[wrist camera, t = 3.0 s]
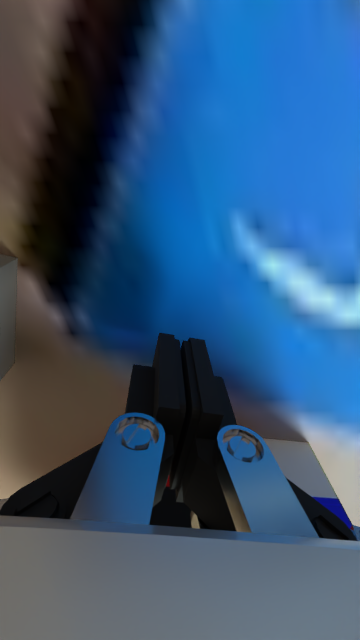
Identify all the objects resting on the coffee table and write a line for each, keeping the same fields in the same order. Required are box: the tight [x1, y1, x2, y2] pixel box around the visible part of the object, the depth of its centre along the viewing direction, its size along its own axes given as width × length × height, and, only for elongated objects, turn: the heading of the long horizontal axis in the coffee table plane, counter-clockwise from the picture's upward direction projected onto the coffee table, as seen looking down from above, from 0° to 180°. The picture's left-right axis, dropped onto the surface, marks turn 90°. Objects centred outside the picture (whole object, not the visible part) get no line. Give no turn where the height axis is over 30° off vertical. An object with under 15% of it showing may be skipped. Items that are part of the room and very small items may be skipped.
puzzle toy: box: [149, 438, 352, 529], centre depth 14 cm, size 10×10×10 cm
